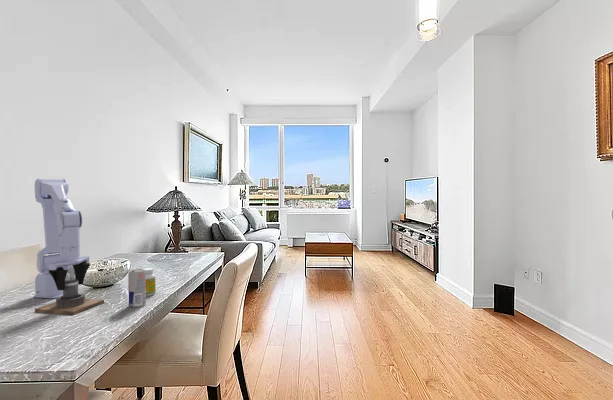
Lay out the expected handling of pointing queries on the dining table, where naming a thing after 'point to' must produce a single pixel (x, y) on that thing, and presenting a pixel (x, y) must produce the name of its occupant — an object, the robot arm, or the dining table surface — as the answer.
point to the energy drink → (137, 288)
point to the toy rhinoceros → (70, 273)
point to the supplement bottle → (150, 281)
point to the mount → (69, 305)
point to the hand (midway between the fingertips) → (70, 287)
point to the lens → (70, 289)
